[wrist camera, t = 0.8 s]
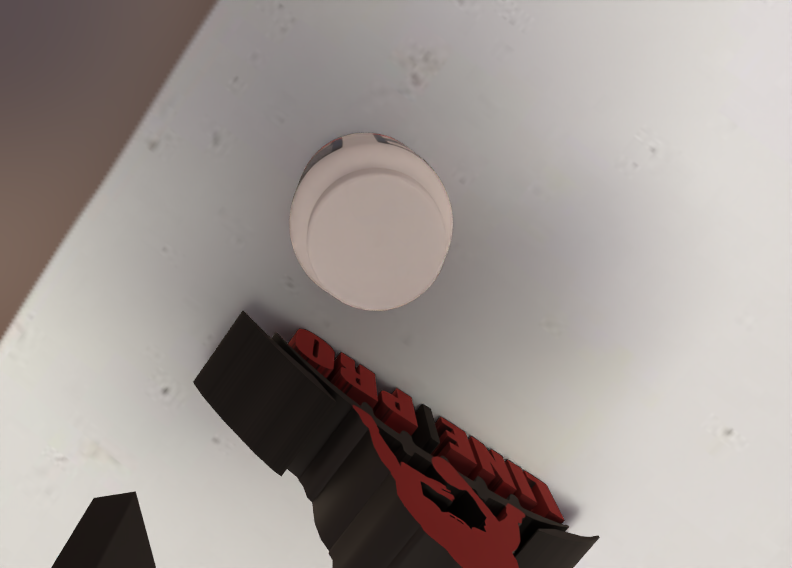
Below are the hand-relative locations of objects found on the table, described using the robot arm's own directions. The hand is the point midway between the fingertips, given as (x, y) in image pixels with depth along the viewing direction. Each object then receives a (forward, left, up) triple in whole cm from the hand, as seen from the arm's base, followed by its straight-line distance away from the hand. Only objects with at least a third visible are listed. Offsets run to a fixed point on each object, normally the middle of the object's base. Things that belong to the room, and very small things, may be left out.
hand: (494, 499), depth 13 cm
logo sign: (+7, -2, -17) cm, 18 cm away
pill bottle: (-3, -1, -17) cm, 17 cm away
